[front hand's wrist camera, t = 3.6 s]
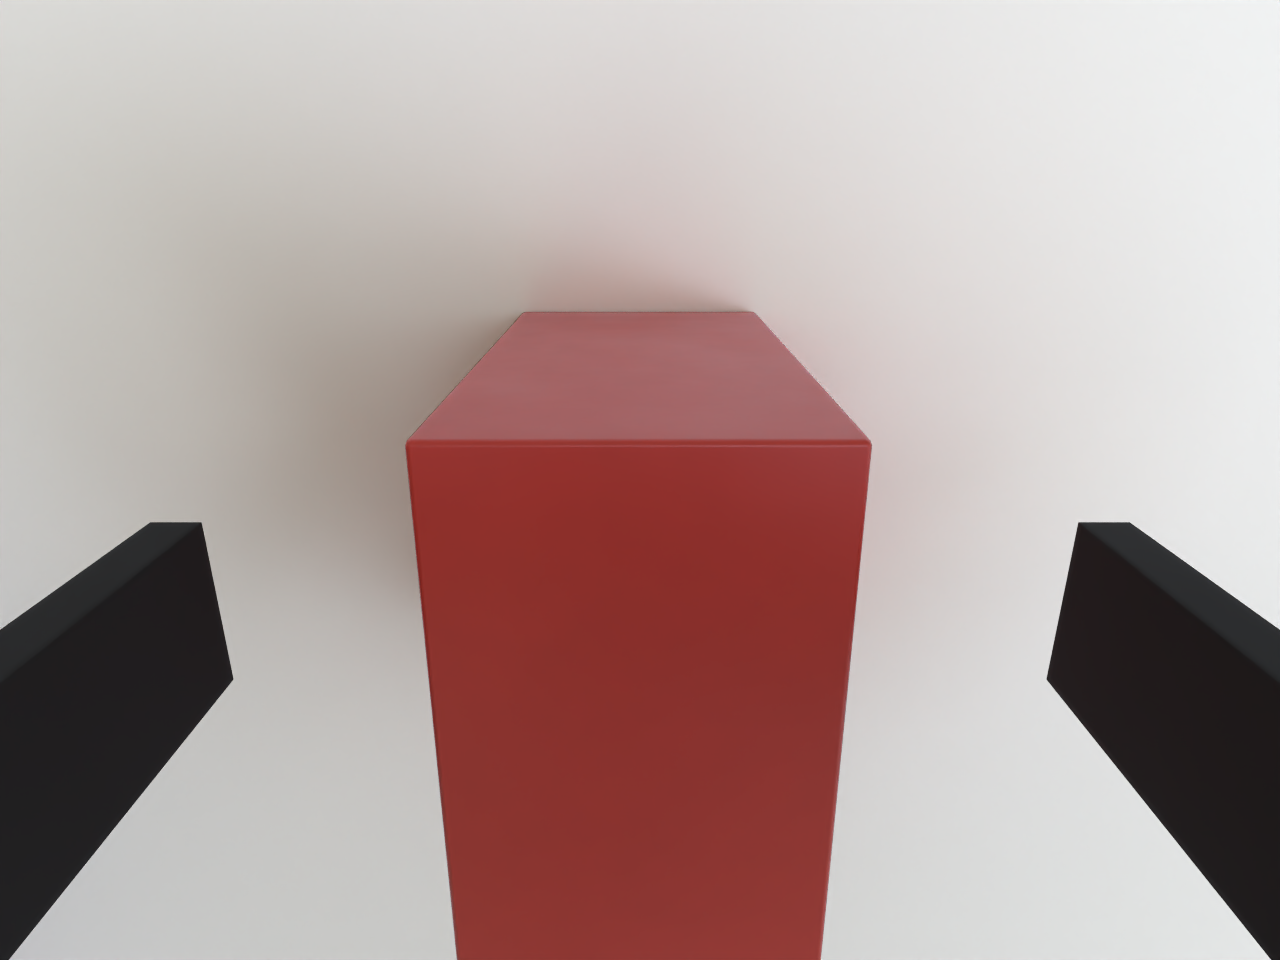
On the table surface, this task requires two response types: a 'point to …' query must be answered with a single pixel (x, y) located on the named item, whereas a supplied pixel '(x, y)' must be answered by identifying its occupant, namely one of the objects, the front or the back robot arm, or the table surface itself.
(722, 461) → the brick
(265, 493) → the table surface
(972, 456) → the table surface
